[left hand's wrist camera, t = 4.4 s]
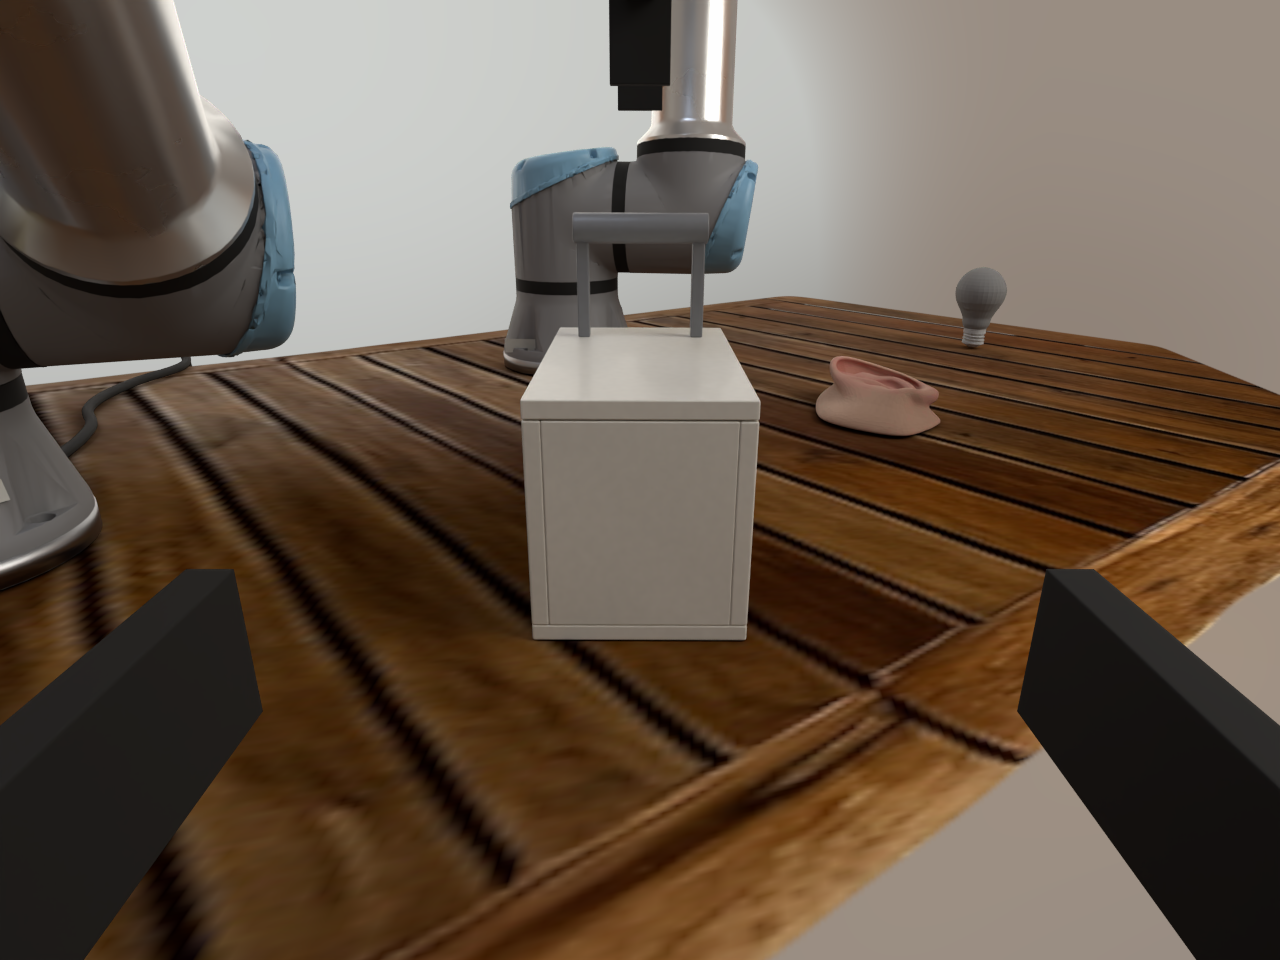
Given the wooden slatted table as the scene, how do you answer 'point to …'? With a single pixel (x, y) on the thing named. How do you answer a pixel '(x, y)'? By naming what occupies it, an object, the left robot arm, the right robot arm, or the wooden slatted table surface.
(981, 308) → the light bulb
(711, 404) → the lid
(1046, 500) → the wooden slatted table surface
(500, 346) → the wooden slatted table surface
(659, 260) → the right robot arm
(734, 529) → the chest
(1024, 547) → the wooden slatted table surface
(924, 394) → the anatomical model
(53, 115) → the left robot arm
